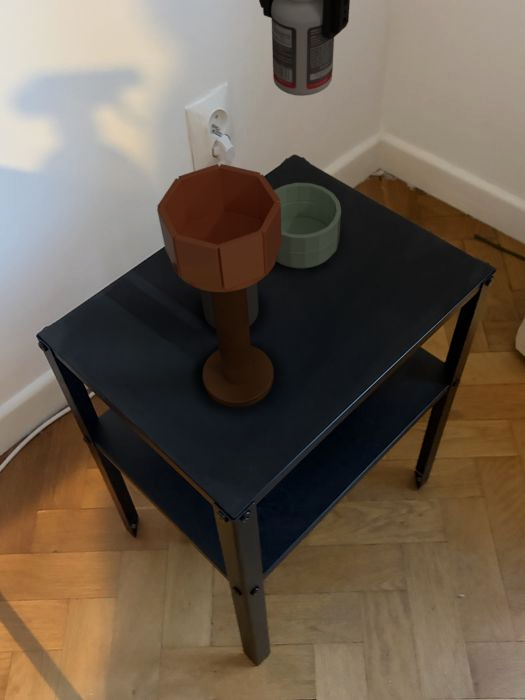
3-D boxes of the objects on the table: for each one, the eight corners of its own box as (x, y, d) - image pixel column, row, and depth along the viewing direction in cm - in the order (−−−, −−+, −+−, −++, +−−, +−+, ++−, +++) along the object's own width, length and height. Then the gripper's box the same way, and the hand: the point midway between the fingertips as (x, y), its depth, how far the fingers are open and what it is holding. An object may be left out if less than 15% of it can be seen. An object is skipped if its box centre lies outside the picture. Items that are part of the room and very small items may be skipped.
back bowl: (282, 279, 80) (281, 247, 76) (251, 229, 85) (248, 196, 81) (352, 254, 82) (355, 222, 78) (317, 206, 86) (318, 173, 82)
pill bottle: (329, 62, 68) (334, -46, 60) (334, 96, 65) (340, -13, 57) (271, 64, 68) (269, -43, 60) (273, 99, 65) (271, -10, 57)
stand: (219, 418, 70) (198, 296, 55) (193, 364, 74) (168, 236, 59) (285, 391, 71) (282, 266, 57) (256, 340, 75) (247, 210, 61)
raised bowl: (192, 307, 55) (184, 261, 51) (155, 233, 59) (145, 186, 55) (296, 270, 56) (296, 223, 52) (252, 201, 61) (249, 153, 57)
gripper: (186, -221, 49) (209, 19, 63) (369, -181, 44) (351, 72, 58) (252, -252, 53) (261, -18, 66) (429, -218, 47) (399, 28, 61)
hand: (303, 22), depth 62 cm, fingers closed on pill bottle, 5 cm apart
